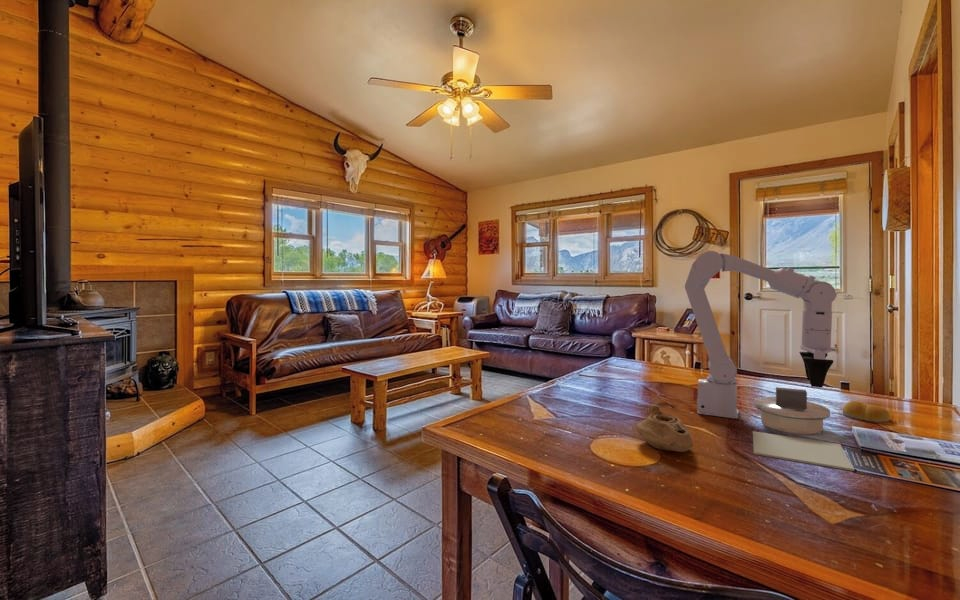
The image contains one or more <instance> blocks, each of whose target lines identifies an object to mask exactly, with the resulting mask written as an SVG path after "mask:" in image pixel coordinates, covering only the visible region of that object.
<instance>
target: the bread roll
mask: <svg viewBox="0 0 960 600" xmlns="http://www.w3.org/2000/svg"><path fill="white" fill-rule="evenodd" d="M842 414H843V415H844V416H845V417H848V418H851V419H854V420H859V421H865V422H872V423H885V422H889V421H890V419H891V418H890V417H891V416H890V415H891V414H890V412H889V411H888V410H887V409H886V408H885V407H883V406H880V405H876V404H866V403H863V402H862V401H856V400H853V401H852V400H851V401H849V402H847V403H846V404H845V405H844V406H843V407H842Z"/></svg>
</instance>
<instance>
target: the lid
mask: <svg viewBox="0 0 960 600" xmlns="http://www.w3.org/2000/svg"><path fill="white" fill-rule="evenodd" d="M807 399H808V392H807V390H806V389H797V388H786V387H777V386H776V387H775V397H774V396H773V397H768V396H767V397H761V398H756V399H755V400H754V407H755V408H756V409H757V410H759V411H760V412H761V411H763V412H766V413H769V414H772V415H776V416H781V417H786V418H793V419H803V420H821V419H823V420H826V419H828V418H831V417H830V416H831V410H830V409H829V407H826V406H824V405H821V404H818V403H816V402H811V401H807Z"/></svg>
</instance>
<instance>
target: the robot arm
mask: <svg viewBox="0 0 960 600" xmlns="http://www.w3.org/2000/svg"><path fill="white" fill-rule="evenodd" d="M794 270H795V269H794V268H792V267H787V268H785V267H782V268H781V267H780V268H777V269H775V270H774V269H770V268H768V267H765V266H763V265H759V264H757V263H754V262H752V261H749V260H747V259H745V258H741V257H739V256H736V255H733V254H732V255H731V254H727V253H721V252H720V253H719V252H717V251H715V250H707V251H705V250H704V252H701V253H700V254H699V255H698V256H697V257H696V259H695V260H694V261H693V263H692V264H691V266H690V270H689V272H688V275H687V278H686V281H685V283H684V289H685V292H686V295H687V298H688V301H689V304H690V307H691V309H692V313H693V316H694V318H695V322H696V325H697V327H698V330H699V333H700V336H701V339H702V341H703V344H704V348H705V350H706V353H707V356H708V361H707V367H708V371H709V374H708V375H707V376H706V378H699V379H698V383H697V399H696V405H697V414H700V415H706V416H714V417H721V418H727V419H736V420H738V419H739V410H740V409H738V407H737V405H738V380H737V379H736V376H737V374H738V369H737V367H736V364H735V363H734V361H733V359H732V358H731V357H730V356H729V355H728V352H727V350H726V348H725V345H724V342H723V339H722V336H721V334H720V330H719V328H718V325H717V322H716V319H715V317H714V313H713V310H712V308H711V305H710V302H709V300H708V297H707V294H706V293H707V292H706V290H705V288H706V287H707V285H708V284H709V283H710V280H711V279H712V278H713V277H714V276H715V275H717V274H718V273H719V272H720V271H721V272H738V273H741V274H744V275H747V276H750V277H752V278H756V279H760V280H762V281H765V282H766V283H767V284H768V286H769V288H770V289H772V290H775V291H777V292H780V293H783V294H786V295H787V296H791V297H794V298H796V299H799V298H801V299H802V300H803V309H802V321H801V323H802V325H801V345H800V350H802V351H799V354H800V356H801V358H802V361H803V366H804V368H805V369H804V370H805V375H806V378H807V380H808V381H809V382H810V386H811V387H813V388H820V389H821V388H823V387H824V384H825V380H826V377H827V374H828V372H829V370H830V368H831V367H832V365H833V363H834V362H835V361H834V360H833V359H827V357H828V356H829V355H828V354H829V353H830V352H831V353H832V352H838V349H837V347H832V346H831V345H832V326H833V324H832V323H833V319H832V318H833V310H832V308H833V307H832V306H833V302H834V301H835V300H836V298H837V297H838V296H837V295H838V292H836V290H835V288H834V286H833V285H832V284H831V283H829V282H826V281H820V280H818V279H816V276H813V275H809V276H808V275H804V274H801V273H799V272H796V271H794Z"/></svg>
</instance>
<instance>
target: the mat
mask: <svg viewBox="0 0 960 600" xmlns="http://www.w3.org/2000/svg"><path fill="white" fill-rule="evenodd" d="M752 444H753V445H752V446H753V454H754V455H758V456H764V457H769V458H774V459H775V458H776V459H780V460H786V461H793V462H799V463H803V464H804V463H805V464H811V465H815V466H822V467H828V468H834V469H840V470H845V471H853V472H855V468H854V466H853V465H852V463H851V461H850V459H849V457H848V455H847V454H846V452H845V450H844V448H843V447H842V445H841V443H834V442H829V441H821V440H814V439H808V438H803V437H802V438H801V437H795V436H787V435H780V434H775V433H767V432H759V431H754V430H753V431H752Z"/></svg>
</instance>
